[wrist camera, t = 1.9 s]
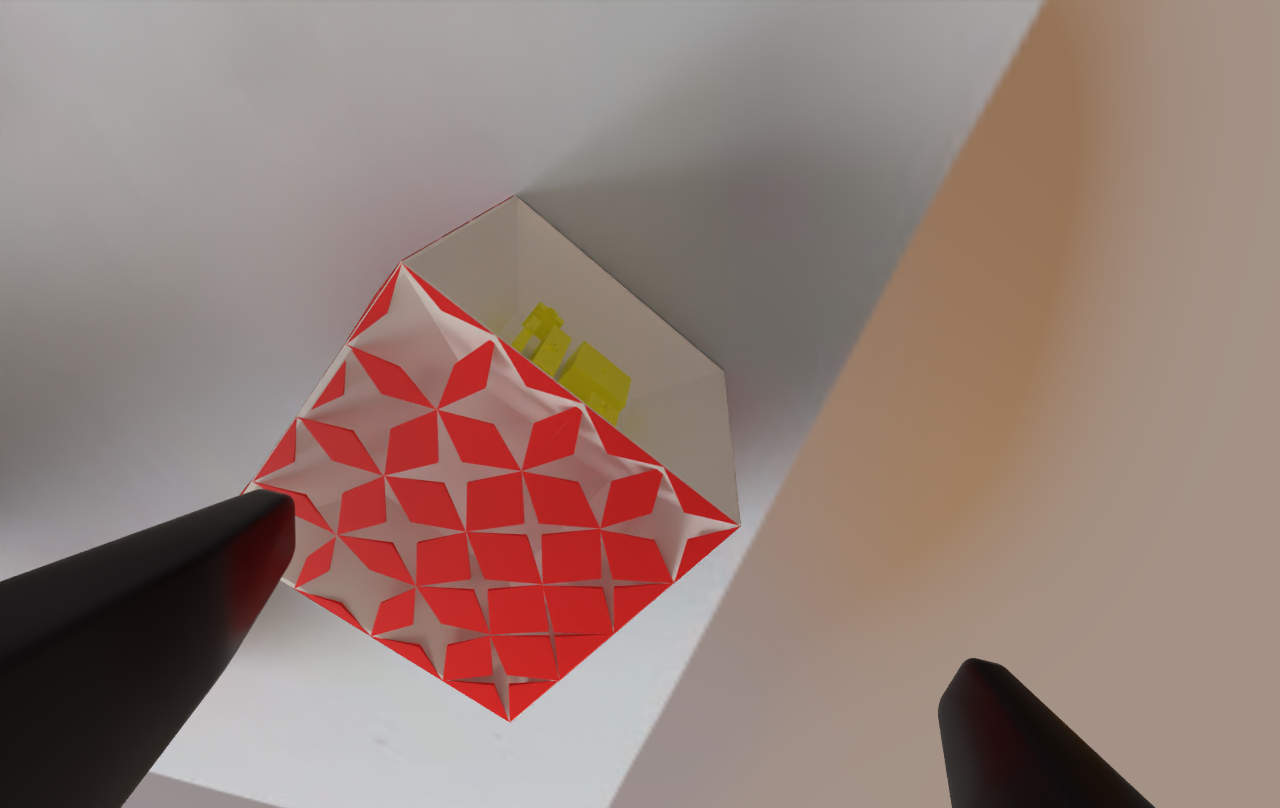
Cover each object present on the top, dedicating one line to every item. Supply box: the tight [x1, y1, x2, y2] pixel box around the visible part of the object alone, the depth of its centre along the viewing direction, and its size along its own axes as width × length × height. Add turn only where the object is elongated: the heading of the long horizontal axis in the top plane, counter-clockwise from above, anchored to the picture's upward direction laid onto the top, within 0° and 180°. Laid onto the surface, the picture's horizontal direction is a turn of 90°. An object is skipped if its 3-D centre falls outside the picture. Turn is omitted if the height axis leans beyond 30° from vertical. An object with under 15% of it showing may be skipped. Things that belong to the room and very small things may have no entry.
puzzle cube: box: [239, 195, 741, 723], centre depth 17 cm, size 8×8×8 cm
